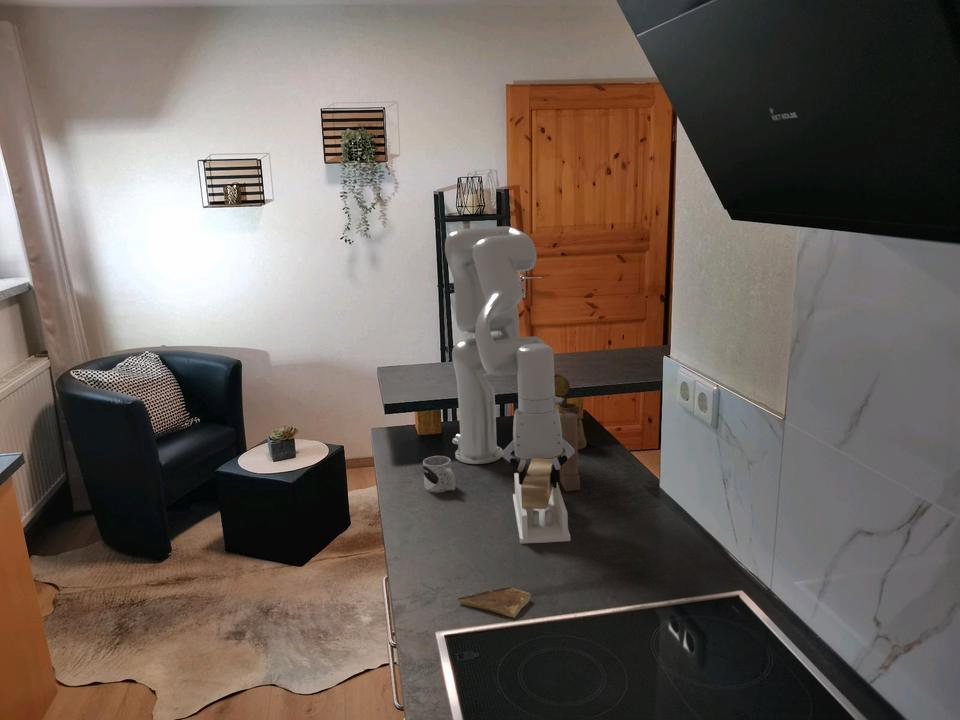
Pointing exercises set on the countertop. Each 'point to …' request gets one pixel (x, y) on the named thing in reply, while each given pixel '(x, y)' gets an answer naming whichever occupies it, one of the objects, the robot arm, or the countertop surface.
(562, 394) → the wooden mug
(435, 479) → the mug
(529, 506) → the wooden bar
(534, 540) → the peg stand
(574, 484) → the wooden block
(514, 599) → the shard
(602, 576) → the countertop surface
